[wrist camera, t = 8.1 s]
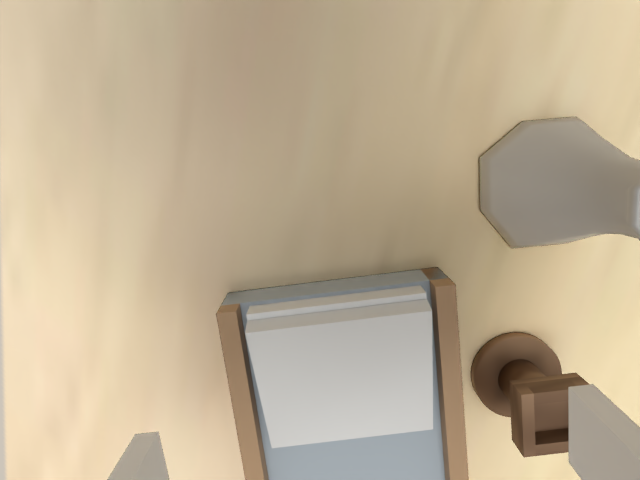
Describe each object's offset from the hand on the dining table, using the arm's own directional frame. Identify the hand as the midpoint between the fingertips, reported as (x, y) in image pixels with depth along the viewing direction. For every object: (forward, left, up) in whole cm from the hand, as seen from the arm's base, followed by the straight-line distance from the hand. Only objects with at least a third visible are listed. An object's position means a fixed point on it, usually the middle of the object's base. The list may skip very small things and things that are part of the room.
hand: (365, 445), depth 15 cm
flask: (-6, +12, -13) cm, 18 cm away
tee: (+5, +10, -12) cm, 16 cm away
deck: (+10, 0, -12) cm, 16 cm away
